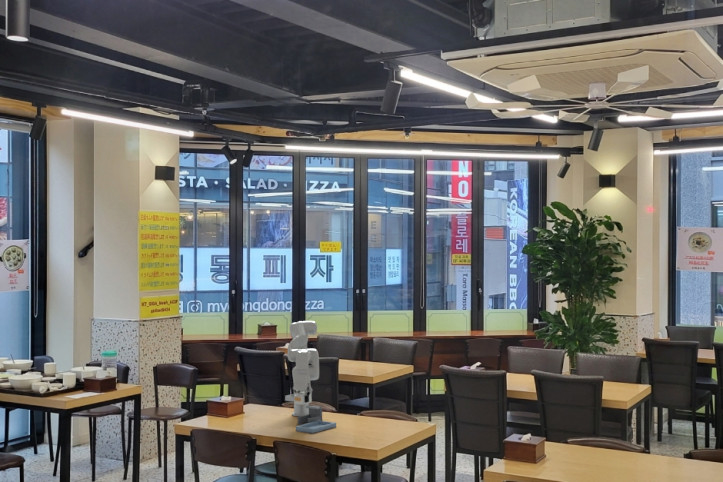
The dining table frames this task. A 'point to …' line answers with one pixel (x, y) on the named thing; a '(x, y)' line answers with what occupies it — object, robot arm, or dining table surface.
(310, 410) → the printer bay
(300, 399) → the caddy
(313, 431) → the tray
